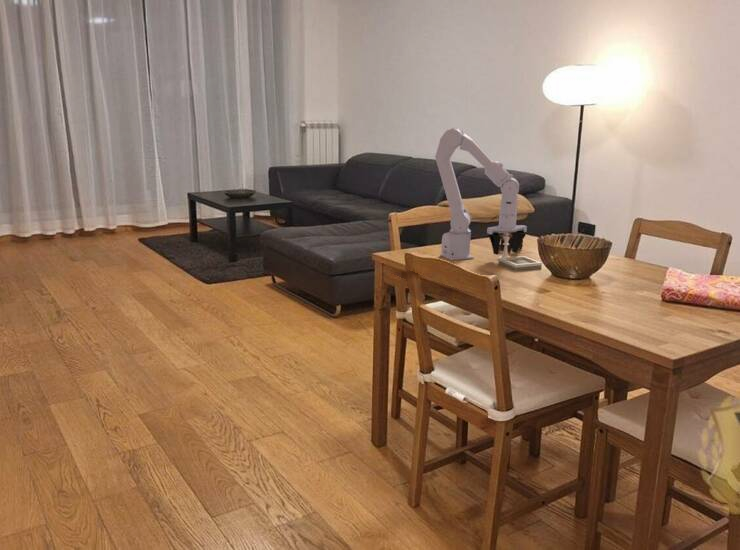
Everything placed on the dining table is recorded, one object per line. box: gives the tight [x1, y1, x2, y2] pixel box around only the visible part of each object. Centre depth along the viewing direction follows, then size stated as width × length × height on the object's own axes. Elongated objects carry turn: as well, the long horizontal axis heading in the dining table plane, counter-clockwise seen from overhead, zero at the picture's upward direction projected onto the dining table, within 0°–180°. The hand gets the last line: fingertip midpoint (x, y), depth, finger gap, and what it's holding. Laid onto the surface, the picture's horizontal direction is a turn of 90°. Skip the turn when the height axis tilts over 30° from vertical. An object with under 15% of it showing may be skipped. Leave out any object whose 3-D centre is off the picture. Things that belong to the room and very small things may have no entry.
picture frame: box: [498, 255, 543, 272], centre depth 218 cm, size 10×10×2 cm
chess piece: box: [497, 233, 510, 261], centre depth 225 cm, size 5×5×10 cm
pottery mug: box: [499, 232, 524, 254], centre depth 239 cm, size 12×10×8 cm
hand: (505, 253), depth 225 cm, fingers open, 7 cm apart
